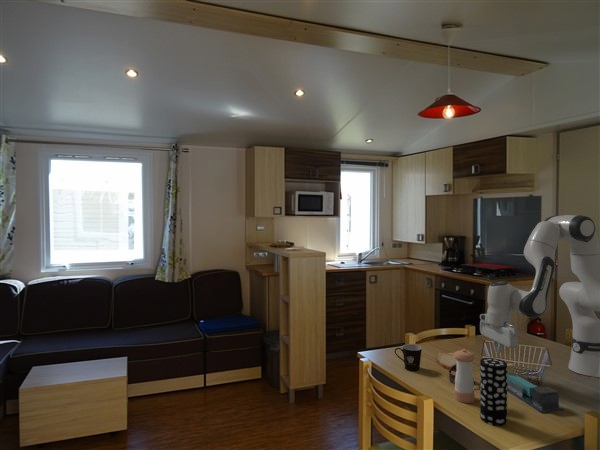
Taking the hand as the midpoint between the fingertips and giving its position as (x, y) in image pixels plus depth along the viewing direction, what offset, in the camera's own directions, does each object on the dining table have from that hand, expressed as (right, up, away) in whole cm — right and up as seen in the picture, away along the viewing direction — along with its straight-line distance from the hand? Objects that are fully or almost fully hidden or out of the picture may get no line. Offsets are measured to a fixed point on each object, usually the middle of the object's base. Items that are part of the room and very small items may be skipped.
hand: (497, 351), depth 170 cm
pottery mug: (-16, -12, -1) cm, 21 cm away
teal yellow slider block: (+3, -11, -12) cm, 16 cm away
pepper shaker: (-22, -13, -18) cm, 31 cm away
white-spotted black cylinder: (-18, -13, -33) cm, 40 cm away
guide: (+3, -12, -16) cm, 21 cm away
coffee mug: (-34, -12, +14) cm, 39 cm away
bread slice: (-13, -12, +19) cm, 26 cm away
